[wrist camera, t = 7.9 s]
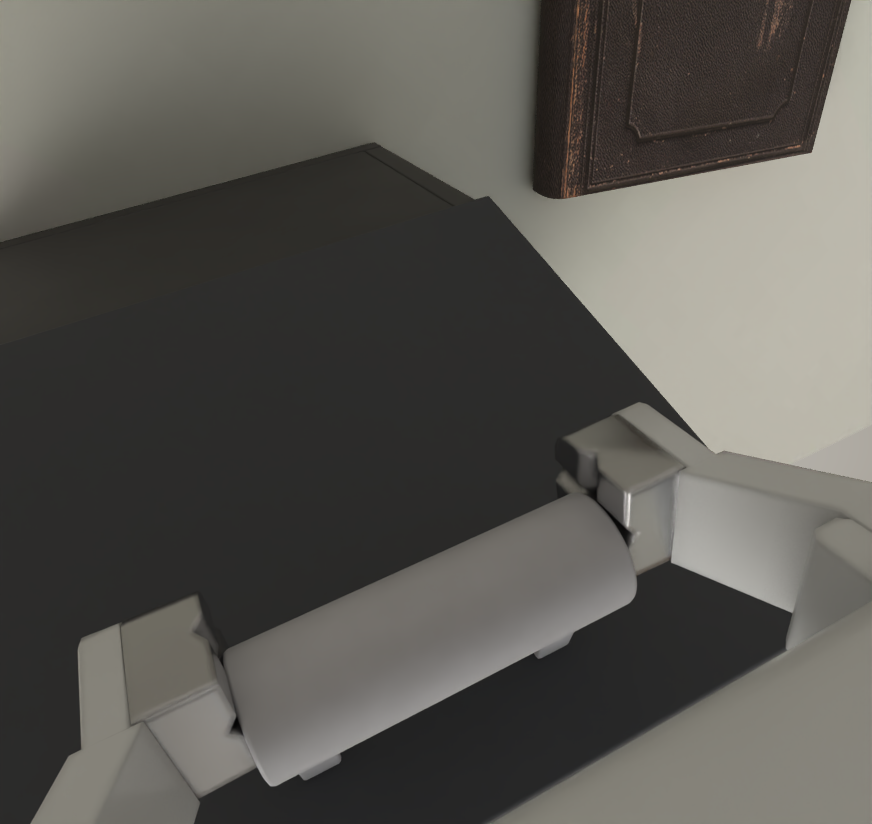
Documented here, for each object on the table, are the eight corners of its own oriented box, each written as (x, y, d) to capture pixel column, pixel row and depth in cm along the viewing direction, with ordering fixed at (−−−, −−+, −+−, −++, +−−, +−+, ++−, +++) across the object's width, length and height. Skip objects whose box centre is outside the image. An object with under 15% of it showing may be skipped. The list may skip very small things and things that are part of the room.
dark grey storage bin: (422, 405, 37) (511, 511, 30) (121, 521, 33) (141, 677, 26) (374, 141, 29) (480, 201, 22) (-33, 250, 25) (-66, 369, 17)
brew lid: (832, 625, 14) (995, 502, 10) (5, 1109, 10) (-290, 1231, 6) (487, 216, 22) (499, 54, 18) (-59, 387, 17) (-205, 225, 13)
